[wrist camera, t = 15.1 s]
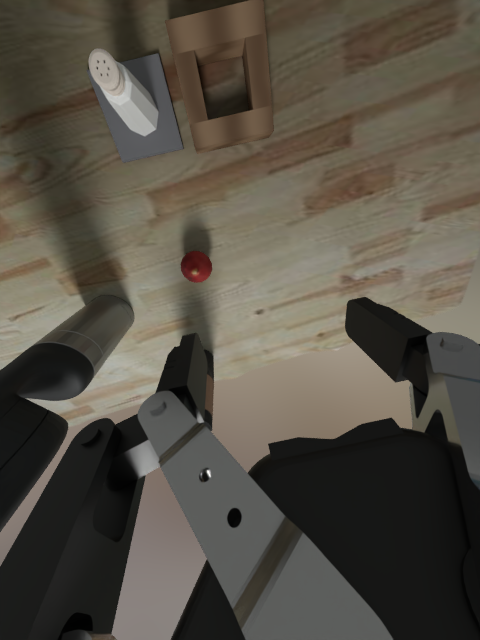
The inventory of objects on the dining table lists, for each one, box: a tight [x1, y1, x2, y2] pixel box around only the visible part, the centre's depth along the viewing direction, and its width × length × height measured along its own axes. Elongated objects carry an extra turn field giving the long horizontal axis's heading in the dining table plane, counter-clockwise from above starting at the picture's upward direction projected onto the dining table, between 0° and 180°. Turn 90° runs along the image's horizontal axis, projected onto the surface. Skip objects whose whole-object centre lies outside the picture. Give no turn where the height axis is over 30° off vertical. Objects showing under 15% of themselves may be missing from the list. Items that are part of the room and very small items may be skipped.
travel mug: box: [203, 350, 214, 431], centre depth 46 cm, size 8×8×20 cm
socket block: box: [165, 0, 274, 154], centre depth 28 cm, size 12×12×4 cm
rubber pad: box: [87, 53, 183, 162], centre depth 30 cm, size 10×10×1 cm
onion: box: [181, 251, 212, 282], centre depth 38 cm, size 6×6×8 cm
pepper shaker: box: [89, 48, 159, 136], centre depth 25 cm, size 5×5×11 cm
